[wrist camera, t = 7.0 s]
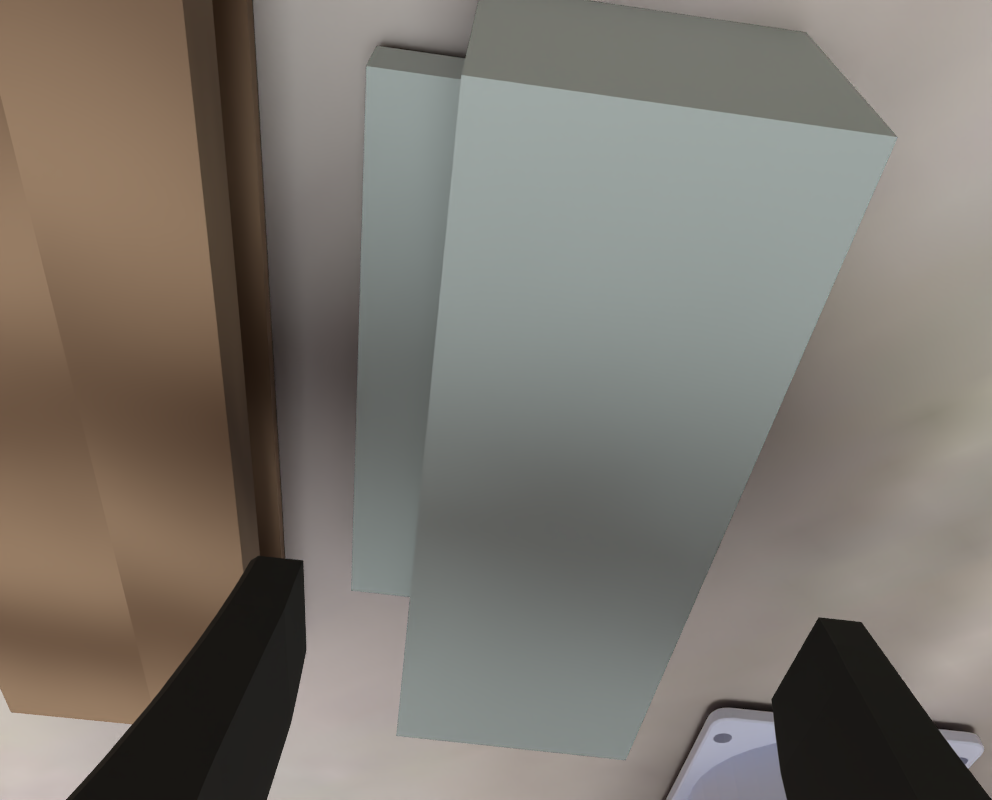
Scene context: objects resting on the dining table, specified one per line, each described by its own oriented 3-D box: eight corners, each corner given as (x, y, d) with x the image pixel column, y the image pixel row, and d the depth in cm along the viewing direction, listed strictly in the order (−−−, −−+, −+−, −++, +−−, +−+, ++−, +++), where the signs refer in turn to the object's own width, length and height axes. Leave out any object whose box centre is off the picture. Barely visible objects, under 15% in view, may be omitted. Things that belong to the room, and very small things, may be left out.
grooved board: (289, 633, 23) (260, 736, 21) (65, 610, 23) (10, 712, 20) (238, -235, 11) (158, -224, 9) (-232, -304, 11) (-445, -313, 8)
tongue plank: (611, 594, 22) (625, 760, 18) (361, 565, 22) (326, 728, 18) (802, 27, 13) (897, 137, 10) (385, -35, 13) (326, 56, 9)
